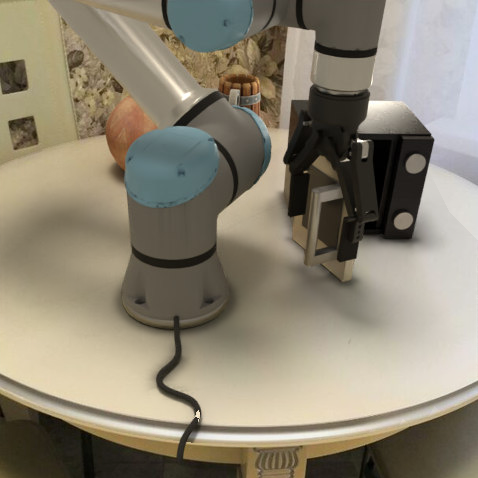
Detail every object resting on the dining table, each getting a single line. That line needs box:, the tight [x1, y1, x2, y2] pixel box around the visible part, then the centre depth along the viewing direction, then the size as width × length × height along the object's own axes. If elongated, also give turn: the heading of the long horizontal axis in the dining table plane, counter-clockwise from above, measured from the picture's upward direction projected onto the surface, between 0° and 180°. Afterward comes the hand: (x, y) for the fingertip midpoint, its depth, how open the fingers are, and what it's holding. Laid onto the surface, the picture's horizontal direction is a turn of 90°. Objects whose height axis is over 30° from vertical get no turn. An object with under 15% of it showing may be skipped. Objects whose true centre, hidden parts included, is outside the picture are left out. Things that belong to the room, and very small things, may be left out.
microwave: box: [283, 99, 435, 239], centre depth 106 cm, size 18×20×18 cm
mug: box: [217, 72, 262, 118], centre depth 130 cm, size 16×11×15 cm
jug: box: [104, 94, 157, 172], centre depth 120 cm, size 18×18×20 cm
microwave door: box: [291, 155, 356, 283], centre depth 93 cm, size 7×15×18 cm, turn 28°
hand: (320, 236), depth 89 cm, fingers open, 13 cm apart
